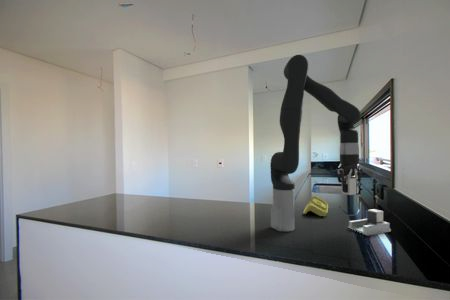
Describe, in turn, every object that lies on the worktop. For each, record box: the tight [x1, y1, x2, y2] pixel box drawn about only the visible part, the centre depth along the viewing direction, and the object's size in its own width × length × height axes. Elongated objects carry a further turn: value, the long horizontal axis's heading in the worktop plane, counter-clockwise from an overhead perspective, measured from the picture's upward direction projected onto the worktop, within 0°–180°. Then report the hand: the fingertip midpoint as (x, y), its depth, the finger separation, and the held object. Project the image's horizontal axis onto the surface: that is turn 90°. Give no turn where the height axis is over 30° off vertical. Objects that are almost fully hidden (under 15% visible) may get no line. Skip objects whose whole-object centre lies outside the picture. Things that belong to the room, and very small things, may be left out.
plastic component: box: [302, 195, 329, 217], centre depth 128 cm, size 20×7×10 cm
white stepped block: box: [347, 208, 392, 236], centre depth 98 cm, size 14×9×8 cm, turn 112°
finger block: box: [341, 178, 358, 196], centre depth 102 cm, size 5×4×7 cm
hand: (349, 191), depth 102 cm, fingers closed on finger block, 4 cm apart
